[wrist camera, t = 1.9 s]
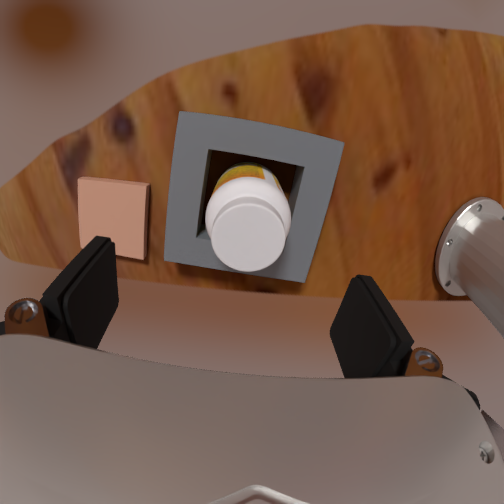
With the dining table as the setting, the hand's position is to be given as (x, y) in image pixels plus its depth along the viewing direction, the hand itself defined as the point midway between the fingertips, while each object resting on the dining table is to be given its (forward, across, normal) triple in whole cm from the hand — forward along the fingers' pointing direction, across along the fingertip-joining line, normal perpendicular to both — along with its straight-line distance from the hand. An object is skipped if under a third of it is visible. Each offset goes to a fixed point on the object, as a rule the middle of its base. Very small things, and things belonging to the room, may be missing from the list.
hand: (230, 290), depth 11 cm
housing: (+14, -1, 0) cm, 15 cm away
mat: (+15, +11, +4) cm, 19 cm away
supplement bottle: (+15, -1, 0) cm, 15 cm away
